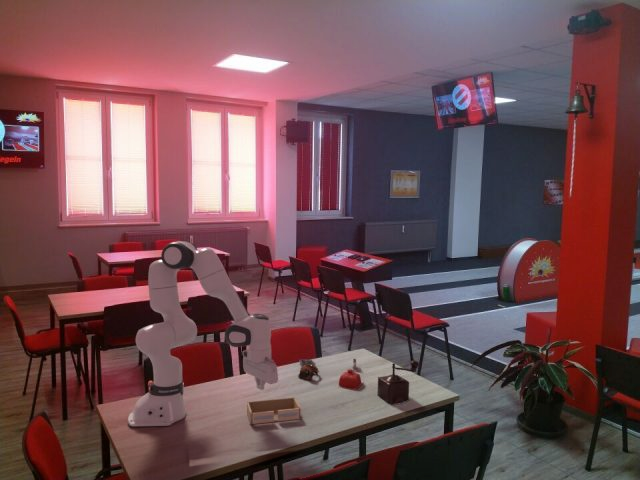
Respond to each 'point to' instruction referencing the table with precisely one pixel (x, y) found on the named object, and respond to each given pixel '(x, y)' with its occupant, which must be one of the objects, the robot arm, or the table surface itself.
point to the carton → (271, 406)
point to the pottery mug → (309, 374)
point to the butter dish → (350, 380)
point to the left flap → (261, 417)
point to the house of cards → (355, 366)
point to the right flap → (289, 414)
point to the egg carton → (307, 362)
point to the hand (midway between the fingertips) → (260, 388)
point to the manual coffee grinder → (395, 386)
